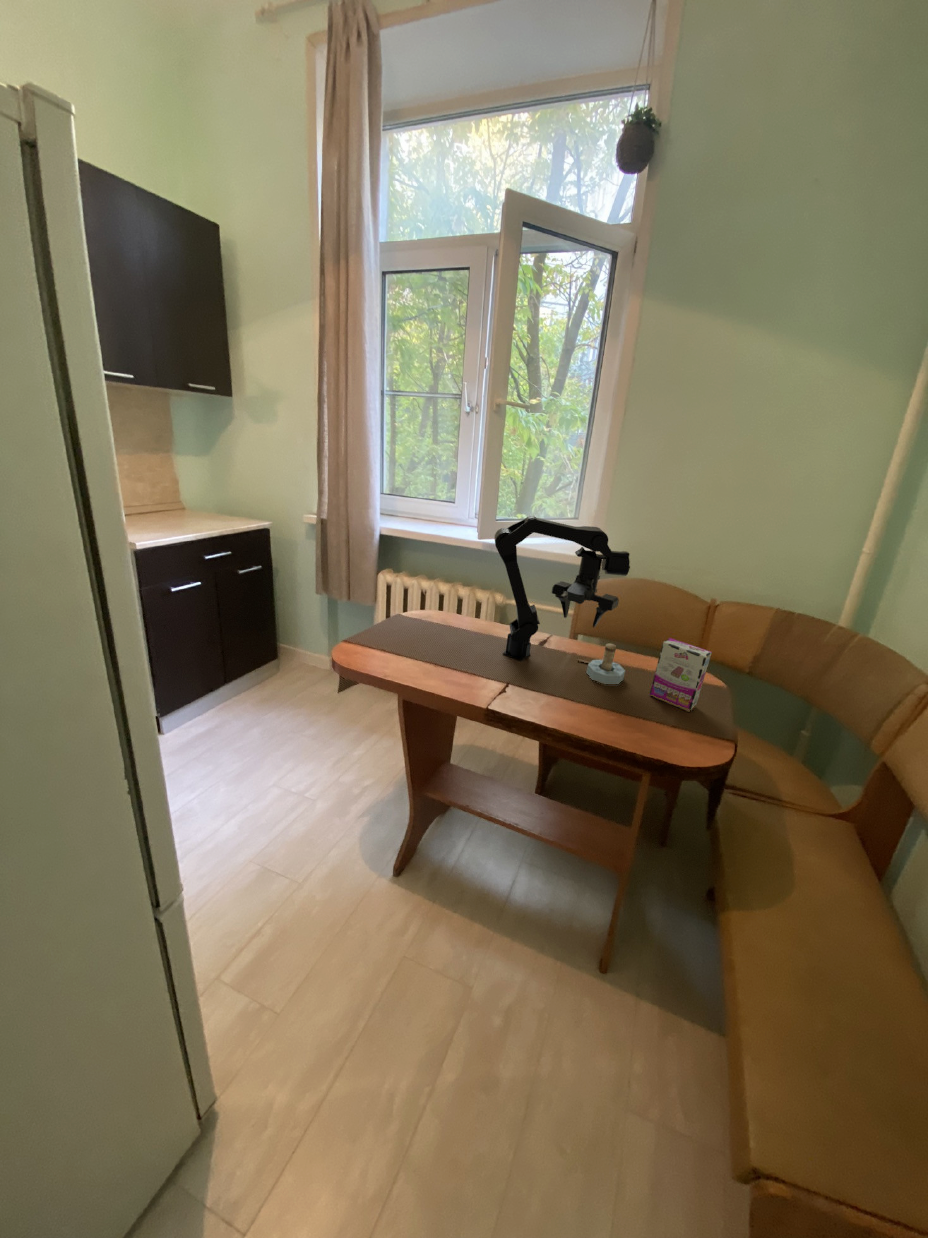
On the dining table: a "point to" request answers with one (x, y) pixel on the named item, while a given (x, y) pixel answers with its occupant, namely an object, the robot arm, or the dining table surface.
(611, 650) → the beige wooden cylinder
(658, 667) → the candy bar box
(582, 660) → the brown wooden stick
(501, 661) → the dining table surface
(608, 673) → the bead
